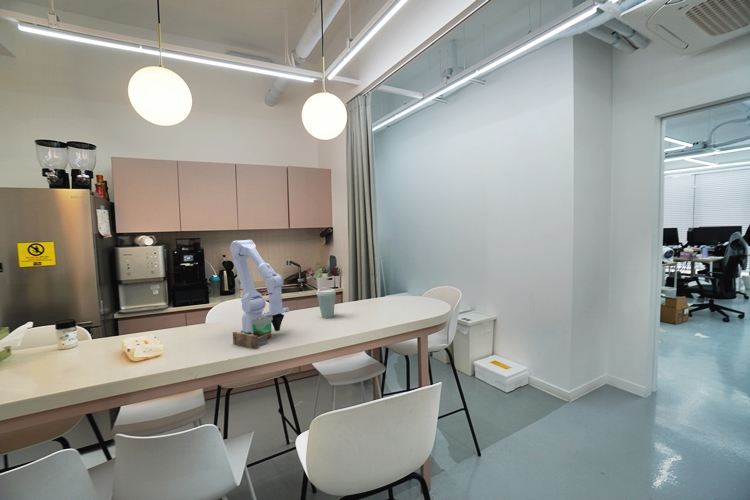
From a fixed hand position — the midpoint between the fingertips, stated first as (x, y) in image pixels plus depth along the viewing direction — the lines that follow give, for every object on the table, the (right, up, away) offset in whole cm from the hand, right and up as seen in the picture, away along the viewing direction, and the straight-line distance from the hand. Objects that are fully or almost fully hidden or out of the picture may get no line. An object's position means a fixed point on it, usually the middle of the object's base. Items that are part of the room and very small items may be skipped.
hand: (277, 330), depth 153 cm
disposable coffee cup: (+19, +1, +28) cm, 34 cm away
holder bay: (-7, -2, -13) cm, 15 cm away
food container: (-3, -2, -6) cm, 7 cm away
